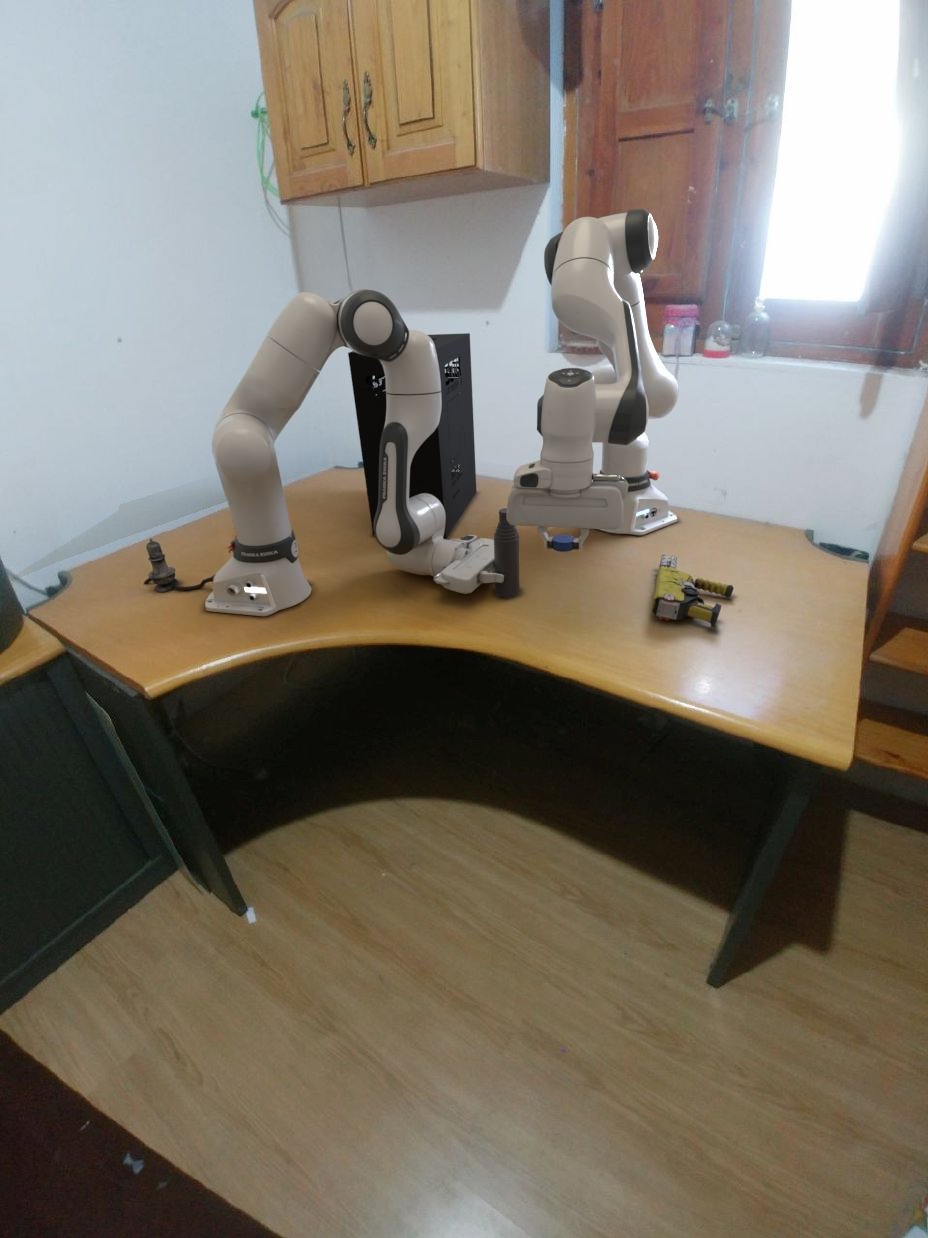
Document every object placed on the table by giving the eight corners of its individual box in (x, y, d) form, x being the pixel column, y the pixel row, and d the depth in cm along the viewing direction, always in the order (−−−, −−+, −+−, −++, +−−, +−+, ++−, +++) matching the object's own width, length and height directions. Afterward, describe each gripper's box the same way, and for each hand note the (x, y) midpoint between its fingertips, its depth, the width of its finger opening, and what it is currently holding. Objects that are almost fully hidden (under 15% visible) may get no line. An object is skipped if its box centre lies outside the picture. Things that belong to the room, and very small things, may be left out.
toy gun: (733, 563, 128) (661, 551, 132) (740, 613, 108) (654, 597, 112) (728, 583, 130) (657, 571, 134) (732, 635, 110) (649, 619, 114)
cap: (552, 542, 111) (553, 533, 110) (575, 543, 110) (575, 534, 109) (550, 551, 108) (551, 542, 107) (573, 552, 107) (574, 543, 106)
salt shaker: (170, 592, 137) (153, 544, 131) (147, 591, 138) (130, 543, 132) (185, 581, 142) (170, 533, 136) (163, 580, 143) (147, 532, 137)
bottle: (524, 591, 129) (524, 509, 120) (508, 600, 126) (507, 516, 117) (506, 584, 132) (504, 504, 123) (490, 592, 129) (487, 511, 120)
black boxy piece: (446, 538, 156) (432, 350, 134) (372, 535, 161) (348, 352, 138) (476, 491, 188) (469, 333, 165) (414, 490, 192) (399, 335, 170)
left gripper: (427, 566, 123) (488, 578, 117) (474, 531, 138) (529, 540, 132) (430, 594, 126) (489, 606, 120) (475, 556, 142) (529, 566, 135)
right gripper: (629, 469, 103) (621, 544, 109) (510, 466, 107) (510, 539, 114) (629, 480, 97) (622, 558, 104) (504, 477, 101) (505, 552, 108)
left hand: (511, 571), depth 126 cm, fingers closed on bottle, 5 cm apart
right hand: (562, 548), depth 109 cm, fingers closed on cap, 4 cm apart
